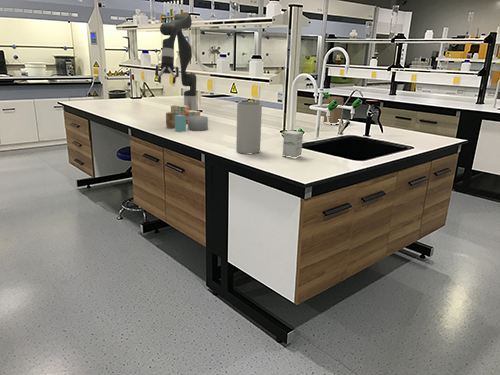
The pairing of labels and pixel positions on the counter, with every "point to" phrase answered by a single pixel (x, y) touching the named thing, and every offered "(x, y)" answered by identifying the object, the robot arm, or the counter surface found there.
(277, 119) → the counter surface
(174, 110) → the stack of blocks
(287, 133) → the supplement box
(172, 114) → the walnut block
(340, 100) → the block
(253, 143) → the cylinder vase
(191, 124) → the plinth
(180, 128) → the teal block
